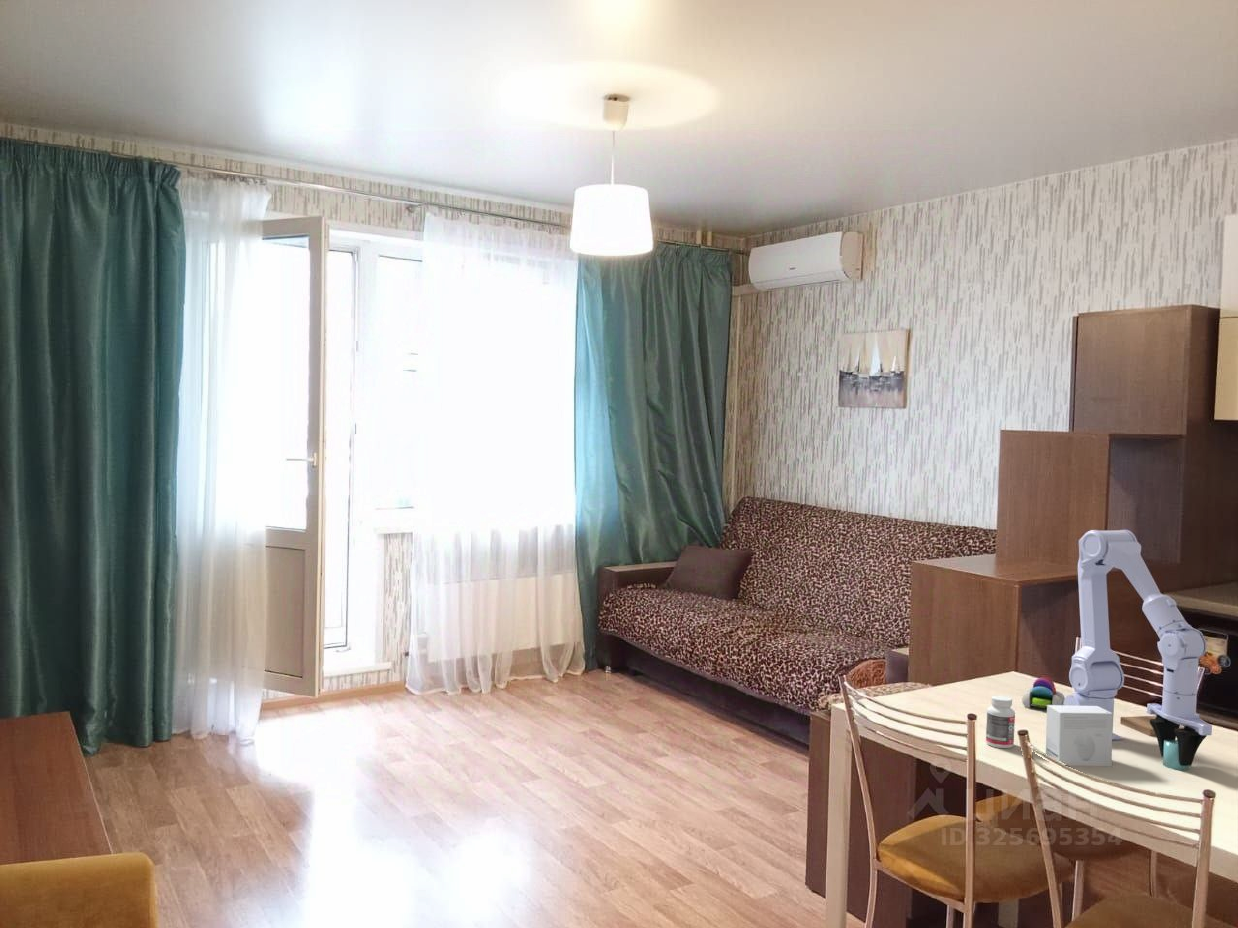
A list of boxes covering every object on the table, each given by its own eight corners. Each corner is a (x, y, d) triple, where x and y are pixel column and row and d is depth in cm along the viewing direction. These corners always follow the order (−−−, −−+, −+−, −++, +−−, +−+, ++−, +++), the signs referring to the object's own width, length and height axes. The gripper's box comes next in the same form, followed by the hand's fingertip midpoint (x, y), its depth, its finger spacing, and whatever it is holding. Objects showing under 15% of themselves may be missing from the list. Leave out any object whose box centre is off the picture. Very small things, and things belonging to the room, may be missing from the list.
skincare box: (1095, 756, 197) (1097, 704, 197) (1112, 767, 191) (1114, 713, 191) (1043, 755, 197) (1046, 703, 197) (1058, 766, 191) (1061, 712, 190)
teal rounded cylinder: (1174, 772, 189) (1175, 746, 189) (1157, 764, 193) (1158, 739, 193) (1194, 771, 190) (1195, 745, 189) (1177, 763, 194) (1178, 738, 194)
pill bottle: (1014, 750, 199) (1016, 702, 199) (986, 747, 201) (988, 699, 201) (1012, 742, 205) (1014, 695, 204) (985, 739, 206) (986, 692, 206)
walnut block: (1149, 740, 210) (1149, 729, 210) (1120, 727, 219) (1120, 716, 219) (1185, 739, 212) (1186, 727, 212) (1155, 726, 221) (1155, 715, 221)
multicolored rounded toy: (1065, 706, 234) (1067, 676, 233) (1059, 716, 225) (1060, 684, 225) (1027, 700, 238) (1028, 670, 238) (1019, 709, 230) (1021, 678, 230)
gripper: (1227, 701, 184) (1223, 772, 185) (1170, 681, 199) (1166, 747, 199) (1194, 702, 183) (1191, 774, 184) (1139, 682, 197) (1135, 749, 198)
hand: (1176, 760), depth 191 cm, fingers closed on teal rounded cylinder, 4 cm apart
